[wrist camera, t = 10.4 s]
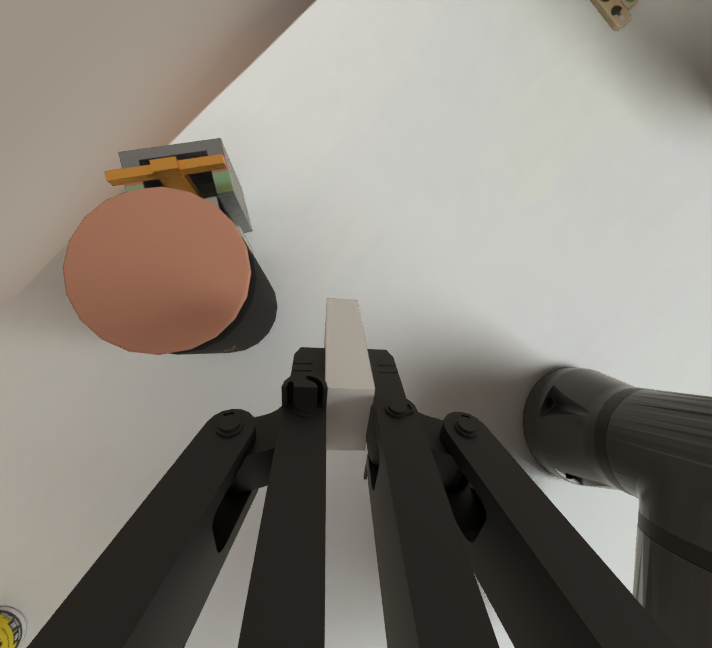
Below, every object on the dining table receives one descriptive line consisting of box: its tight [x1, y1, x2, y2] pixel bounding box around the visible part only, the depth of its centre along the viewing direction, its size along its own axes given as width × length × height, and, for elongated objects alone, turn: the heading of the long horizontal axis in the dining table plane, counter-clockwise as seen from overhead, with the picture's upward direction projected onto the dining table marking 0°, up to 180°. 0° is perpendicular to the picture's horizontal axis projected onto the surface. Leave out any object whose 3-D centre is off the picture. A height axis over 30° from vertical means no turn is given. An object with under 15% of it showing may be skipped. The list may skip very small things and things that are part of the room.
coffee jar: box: [63, 187, 277, 355], centre depth 27 cm, size 11×11×18 cm
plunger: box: [105, 154, 253, 254], centre depth 30 cm, size 6×9×11 cm, turn 105°
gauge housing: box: [118, 138, 252, 233], centre depth 32 cm, size 6×9×9 cm, turn 105°
